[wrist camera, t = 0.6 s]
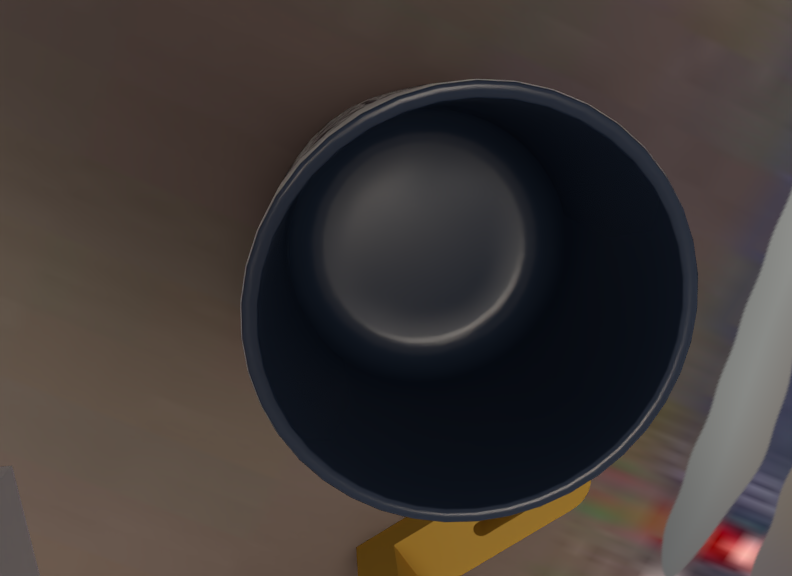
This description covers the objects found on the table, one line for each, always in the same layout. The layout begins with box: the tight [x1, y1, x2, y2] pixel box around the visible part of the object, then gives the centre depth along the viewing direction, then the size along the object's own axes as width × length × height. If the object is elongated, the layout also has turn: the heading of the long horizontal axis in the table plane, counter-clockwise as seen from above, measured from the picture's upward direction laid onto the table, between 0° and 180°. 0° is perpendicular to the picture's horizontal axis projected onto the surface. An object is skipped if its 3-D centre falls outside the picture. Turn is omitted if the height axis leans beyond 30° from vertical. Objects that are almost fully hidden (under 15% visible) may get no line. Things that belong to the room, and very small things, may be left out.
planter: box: [240, 79, 698, 522], centre depth 29 cm, size 16×16×14 cm
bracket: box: [356, 480, 591, 576], centre depth 37 cm, size 15×4×8 cm, turn 122°
